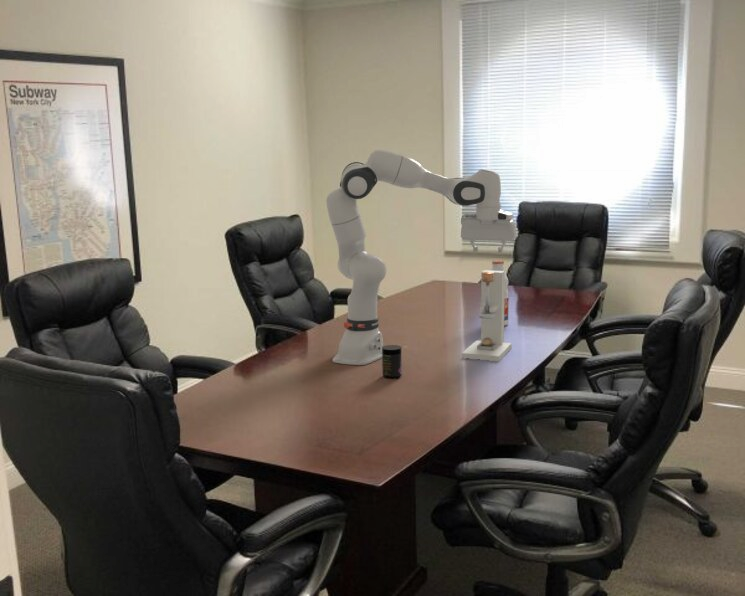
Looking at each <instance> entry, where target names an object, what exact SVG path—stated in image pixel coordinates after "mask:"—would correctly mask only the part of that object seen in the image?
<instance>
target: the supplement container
mask: <svg viewBox="0 0 745 596" xmlns="http://www.w3.org/2000/svg"><path fill="white" fill-rule="evenodd" d="M402 356H403V355H402V346H401V345H397V344H387V345H383V347H382V358H381V363H382V367H381V368H382V369H381V370H382V373H381V374H382V377H383V378H384V379H387V380H397V379H400V378H401V377H402V376H403V372H402V371H403V368H402V367H403V366H402V364H403V363H402V358H403V357H402Z"/></svg>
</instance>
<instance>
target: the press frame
mask: <svg viewBox="0 0 745 596" xmlns="http://www.w3.org/2000/svg"><path fill="white" fill-rule="evenodd" d="M482 272H493V273H494V281H493V282H490V308H489V312H495V313H496V317H495V318H492V319H484V318H480V340H478V339H477V340H475V341H474V342H473V343H472V344H471V345H469V346H468V347H467V348H466V349H465V350H464V351H463V352H462V353H461V359H464V358H470V359H469V360H475V359H480V360H479V361H487V360H489V361H488V362H500V361H501V360H502V359H503V358H504V357H505V355H507V354H508V352H510V350H511V349H512V346H513V345H512V344H513V343H512V342H505V326H504V289H505V274H506V271H505V270H504V271H492V270H488V269H486V270H485V269H484V270H482V271H481V272H480V273H481V277H480V279H481V282H480V283H481V284H480V285H481V286H480V289H481V291H480V292H481V295H480V303H481V304H480V307H479V309H478V310H479V311H478V312H479V313H480V312H484V311H485V282H483V281H482ZM484 338H490V339H491V340H492V342H493V344H492V346H491V347H487V346H483V345H482V340H483V339H484Z"/></svg>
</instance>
